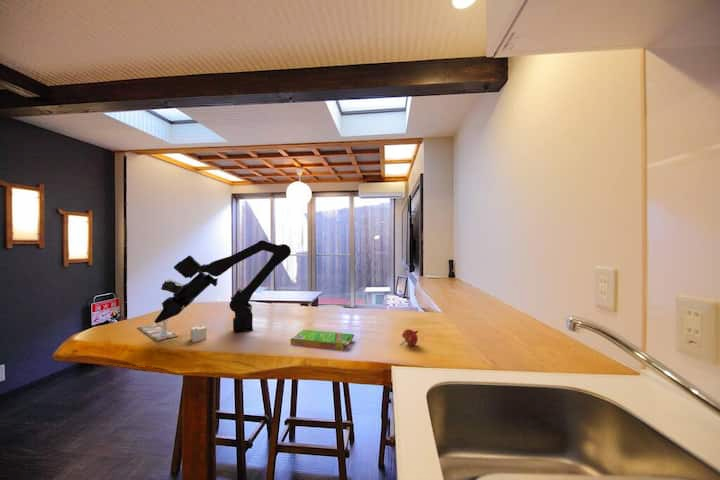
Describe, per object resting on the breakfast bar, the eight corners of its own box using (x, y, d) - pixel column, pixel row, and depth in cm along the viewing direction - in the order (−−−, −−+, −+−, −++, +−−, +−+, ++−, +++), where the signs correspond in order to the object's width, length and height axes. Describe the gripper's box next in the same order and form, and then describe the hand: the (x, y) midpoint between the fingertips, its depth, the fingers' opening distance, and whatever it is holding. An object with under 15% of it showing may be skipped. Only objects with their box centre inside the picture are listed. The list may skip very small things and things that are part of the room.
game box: (303, 337, 99) (355, 339, 94) (290, 347, 90) (347, 351, 85) (303, 329, 99) (355, 331, 94) (290, 338, 90) (347, 341, 85)
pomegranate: (405, 354, 87) (424, 340, 86) (394, 339, 88) (413, 326, 87) (404, 349, 92) (422, 336, 92) (395, 335, 93) (412, 323, 93)
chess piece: (175, 334, 97) (176, 307, 97) (164, 339, 92) (165, 310, 92) (163, 333, 97) (164, 306, 98) (151, 338, 92) (152, 309, 93)
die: (202, 336, 96) (202, 325, 96) (206, 339, 93) (206, 327, 94) (190, 339, 93) (190, 327, 93) (193, 342, 91) (193, 330, 91)
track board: (177, 336, 95) (177, 335, 95) (156, 341, 90) (156, 341, 90) (157, 324, 109) (157, 323, 109) (137, 328, 104) (137, 327, 104)
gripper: (185, 269, 105) (151, 298, 101) (170, 275, 88) (128, 310, 84) (207, 288, 108) (174, 317, 104) (196, 297, 90) (157, 332, 86)
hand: (159, 319), depth 94 cm, fingers open, 8 cm apart
